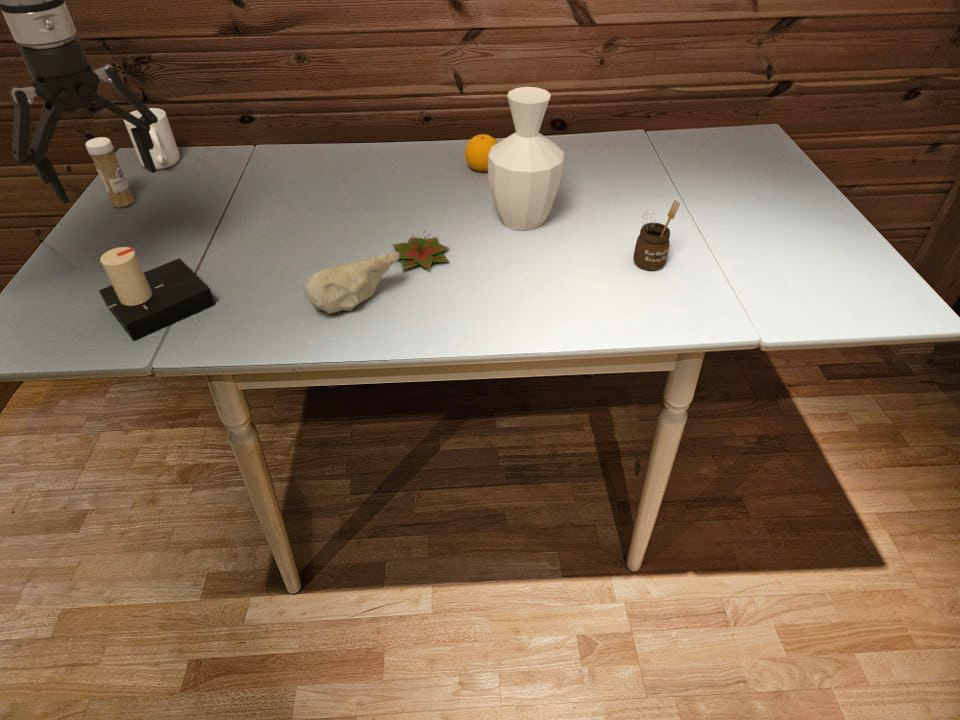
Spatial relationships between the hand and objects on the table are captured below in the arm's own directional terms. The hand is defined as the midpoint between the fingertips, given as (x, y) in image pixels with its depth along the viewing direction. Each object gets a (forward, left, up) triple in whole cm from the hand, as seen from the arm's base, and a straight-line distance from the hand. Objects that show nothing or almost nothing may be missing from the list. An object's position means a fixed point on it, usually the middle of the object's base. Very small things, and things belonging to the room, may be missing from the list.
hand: (109, 184), depth 103 cm
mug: (+20, +43, -20) cm, 51 cm away
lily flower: (+41, -25, -20) cm, 52 cm away
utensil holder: (+71, -55, -20) cm, 92 cm away
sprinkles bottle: (+7, +32, -20) cm, 38 cm away
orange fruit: (+73, -7, -20) cm, 76 cm away
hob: (-1, -7, -20) cm, 21 cm away
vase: (+64, -29, -20) cm, 73 cm away
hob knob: (-4, -7, -16) cm, 18 cm away
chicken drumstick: (+25, -27, -20) cm, 42 cm away
